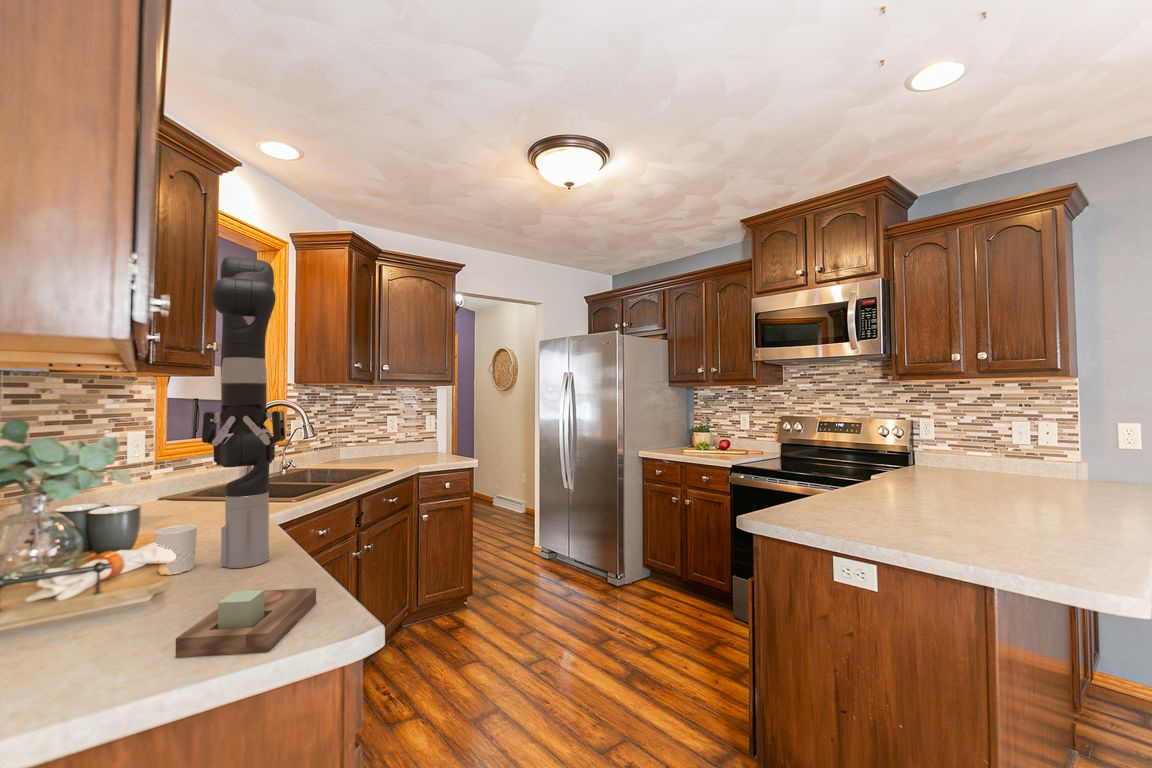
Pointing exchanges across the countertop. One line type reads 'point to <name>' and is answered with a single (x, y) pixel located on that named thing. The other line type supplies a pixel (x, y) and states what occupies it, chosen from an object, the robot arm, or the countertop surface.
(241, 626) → the green block
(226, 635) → the puzzle board
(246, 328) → the robot arm
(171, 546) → the white cup
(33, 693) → the countertop surface
